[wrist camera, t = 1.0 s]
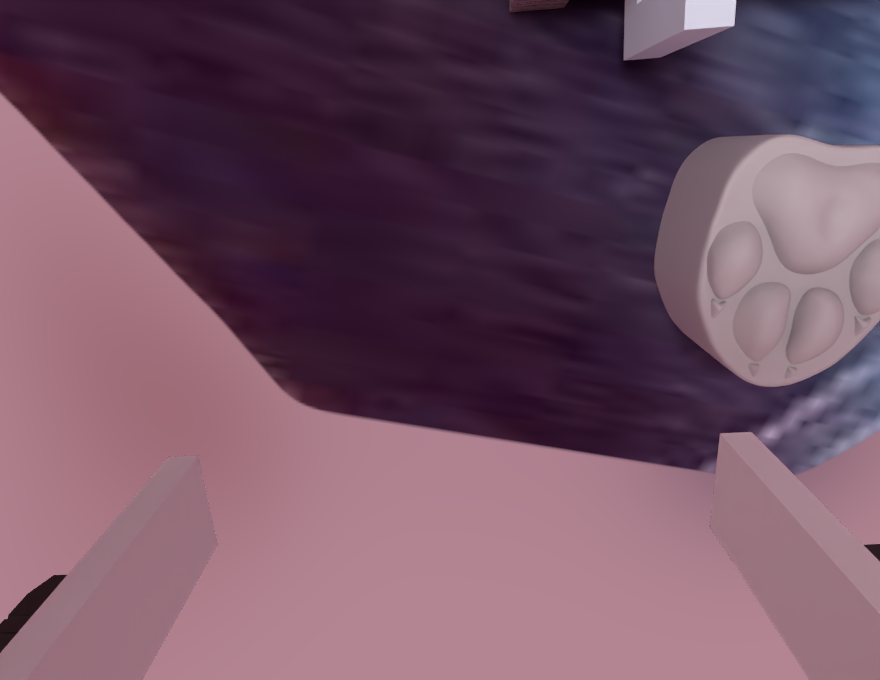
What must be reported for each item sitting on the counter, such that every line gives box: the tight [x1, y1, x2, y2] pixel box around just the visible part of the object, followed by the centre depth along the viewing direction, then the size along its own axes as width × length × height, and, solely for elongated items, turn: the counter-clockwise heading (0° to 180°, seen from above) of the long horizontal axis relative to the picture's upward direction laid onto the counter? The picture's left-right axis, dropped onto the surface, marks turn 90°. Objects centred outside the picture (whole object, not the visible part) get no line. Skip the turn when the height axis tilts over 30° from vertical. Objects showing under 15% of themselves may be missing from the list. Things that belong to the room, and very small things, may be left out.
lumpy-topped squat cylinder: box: [654, 134, 880, 387], centre depth 33 cm, size 10×13×9 cm
